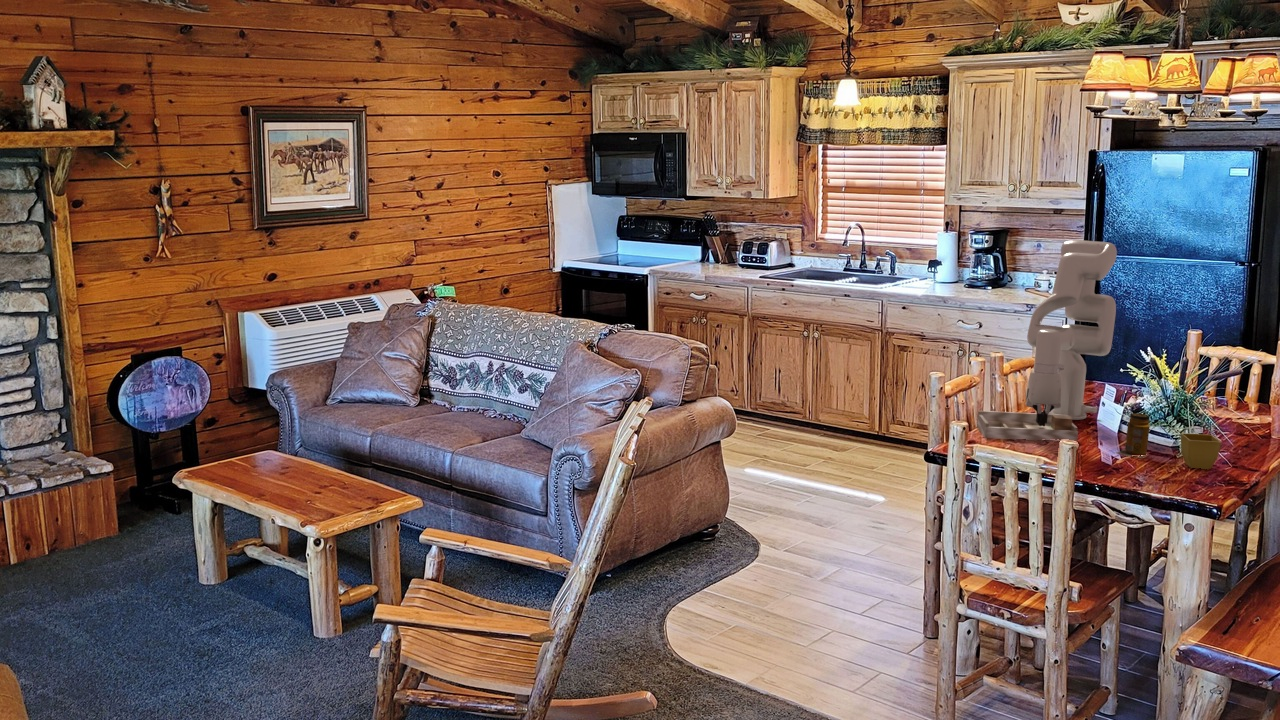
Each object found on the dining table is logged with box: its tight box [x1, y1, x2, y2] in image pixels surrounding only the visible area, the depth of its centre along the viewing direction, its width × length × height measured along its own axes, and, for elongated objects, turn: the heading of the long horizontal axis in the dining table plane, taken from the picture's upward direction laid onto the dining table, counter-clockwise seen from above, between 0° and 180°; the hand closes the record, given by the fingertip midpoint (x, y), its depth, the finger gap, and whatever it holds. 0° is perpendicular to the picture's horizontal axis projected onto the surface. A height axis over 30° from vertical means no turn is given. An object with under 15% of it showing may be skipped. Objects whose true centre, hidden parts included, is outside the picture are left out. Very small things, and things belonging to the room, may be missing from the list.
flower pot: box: [1180, 432, 1222, 470], centre depth 326 cm, size 9×9×9 cm
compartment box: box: [976, 410, 1079, 443], centre depth 358 cm, size 28×14×6 cm, turn 84°
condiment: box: [1116, 412, 1151, 459], centre depth 338 cm, size 7×8×12 cm
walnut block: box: [1051, 415, 1073, 430], centre depth 356 cm, size 5×5×4 cm
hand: (1041, 425), depth 358 cm, fingers closed
